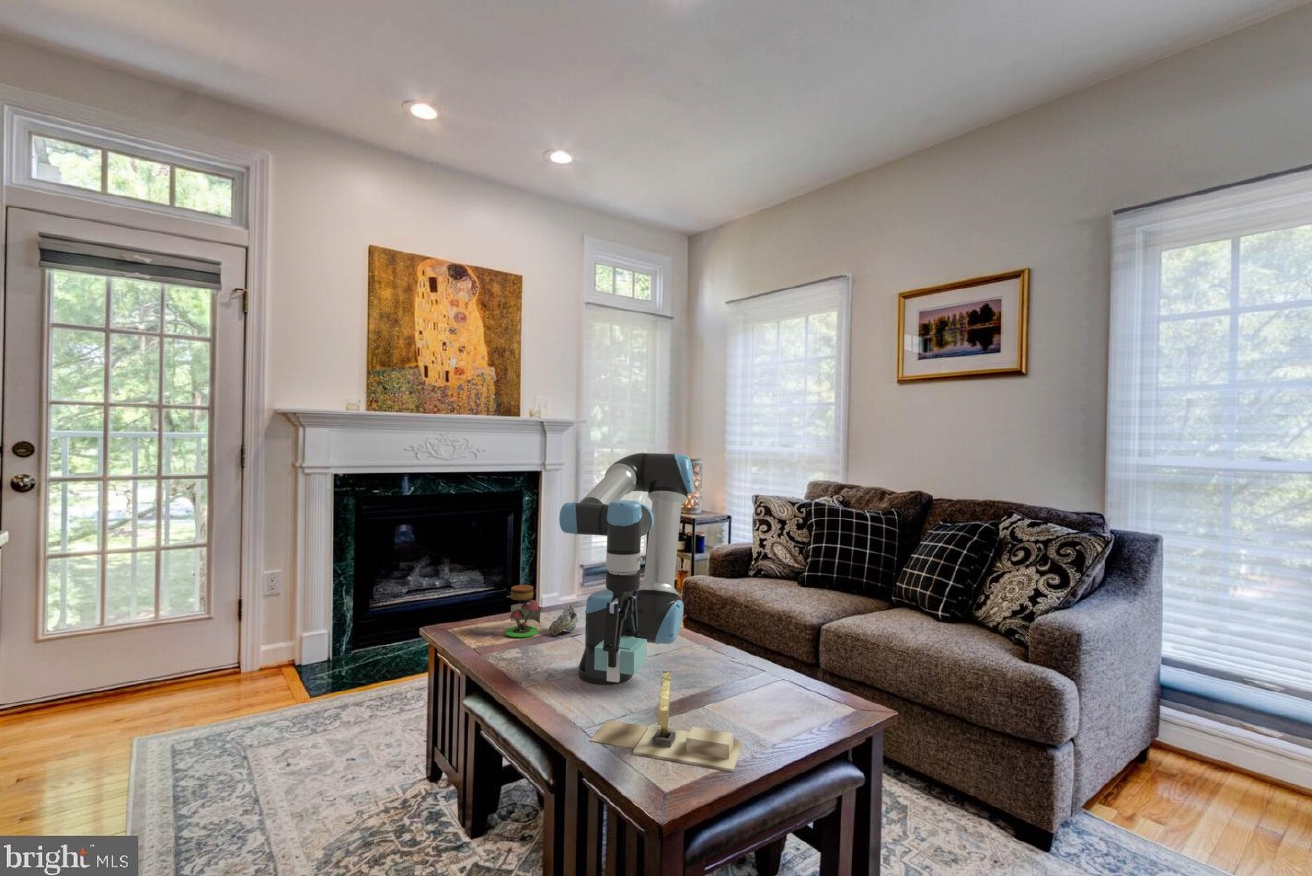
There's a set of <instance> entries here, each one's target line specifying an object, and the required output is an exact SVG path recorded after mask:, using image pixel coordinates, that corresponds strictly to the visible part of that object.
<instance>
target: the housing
mask: <svg viewBox="0 0 1312 876" xmlns="http://www.w3.org/2000/svg"><path fill="white" fill-rule="evenodd" d="M660 736H661V726H659V725H652V724H651V725H649V726H648V728H647V730H646V731H645V733H644V734H643V736H642V737H641V739H640V740H639V742H638V744H637V745H636V747H635V748H634V749H633V751H632V754H633V755H637V756H641V757H647V758H653V759H659V760H664V761H671V762H675V763H681V764H686V765H693V766H698V767H699V766H700V767H702V768H703V767H704V768H710V769H714V770H715V769H716V770H720V771H721V770H722V771H726V772H734V770H735V769H736V768H735V767H736V764H737V761H738V759H739V756H740V753H741V749H742V746H743V740H742V739H736V738H734V733H732V732H727V731H721V730H716V729H715V730H713V729H708V728H703V727H697V726H696V727H695V726H691V728H690V730H687V731H686V730H681V729H674V728H669V727H668V738H662V737H660Z"/></svg>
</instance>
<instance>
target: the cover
mask: <svg viewBox="0 0 1312 876" xmlns="http://www.w3.org/2000/svg"><path fill="white" fill-rule="evenodd" d="M603 645H604V640H603V641H602V642H601V643H599V644H598V645H597V646H596V647H595V663H594V670H601V671H607V651H603ZM647 648H648V642H647V639H641V638H633V637H625V636H621V638H620V644H619V651H620V673H623V674H630V675H633V676H634V675H635V674H636V673H637V672H638V671H639V670H640V668H641V667H642V666H643V665H644V664H645V663H646V662H647V656H648V655H647V653H648V649H647Z"/></svg>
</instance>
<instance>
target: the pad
mask: <svg viewBox="0 0 1312 876" xmlns="http://www.w3.org/2000/svg"><path fill="white" fill-rule="evenodd" d="M648 728H649V726H646V725H641V724H636V723H635V724H634V723H629V722H628V723H627V722H622V721H616V720H610V719H606V720H605V722H604V723H603V724H602V725H601V727H599V729H598V730H597V732H596V733H595V734H594V735H593V736H592V737H591V738H590V739H589V742H591V743H592V742H593V743H598V744H603V745H608V746H615V747H620V748H625V749H631V750H634V749H635V748H636V746H637V745H638V743H639V742H640V740H641V738H642V737H643V735H644V734H645V732H646V731H647V729H648Z"/></svg>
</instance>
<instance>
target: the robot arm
mask: <svg viewBox="0 0 1312 876" xmlns="http://www.w3.org/2000/svg"><path fill="white" fill-rule="evenodd" d="M694 488H695V482H694V471H693V465H692V460H691V458H690V457H689V456H688V455H686V454H681V453H674V452H673V453H656V452H654V453H653V452H651V453H650V452H637V453H633V454H629V455H627V456H625V457H622V458H621V459H618V460H617V461H615V462H614V463H612V464H610V466H609V467H608V468H607V469H606V471H605V472H604V477H603V478H601V480H600V481H599V482H597V484H596V485H595V486H594V487H593V488H592V489H591V490H590V491H589V492H588V493H587V494H586V495H585V497H583V498H582V499H581V500H580V501H579V502H575V501H573V502H566V503H563V505H562V506H561V508H560V512H559V516H558V517H559V519H558V520H559V521H558V522H559V528H560V530H561V531H562V532H563V533H565V534H571V535H572V534H573V535H576V536H577V535H581V536H582V535H586V536H605V537H606V553H605V554H606V557H605V560H606V561H605V569H606V570H607V572H606V574H605V588H606V589H603V590H599V591H595V592H592V593H591V594H590V595H589V596H588V597H587V598H586V603H585V604H586V605H585V606H586V607H585V611H584V613H585V631H584V632H585V633H584V634H585V636H584V638H585V641H584V642H585V643H584V650H583V652H582V656H581V659H580V662H579V664H578V671H577V675H578V678H579V680H580V681H583V682H584V683H586V684H587V683H588V684H590V685H595V686H612V685H613V686H615V685H619V684H623V683H626V682H628V681H630V679H632V677H633V676H634V675H630V674H623V673H620V651H619V644H620V638H621V636H625V637H633V638H641V639H647V644H648V643H649V644H656V645H662V644H663V645H671V644H673V643H675V642H676V640H677V638H678V636H679V633H680V630H681V627H682V622H683V618H684V617H683V616H684V607H685V606H684V602H683V601H682V600H681V599H679V592H677V589H675V580H676V579H675V578H676V570H677V569H676V567H677V557H678V556H677V555H678V546H679V533H680V523H681V512H682V511H681V510H682V505H683V504H684V503H686V502H687V501H688V495H691V494H693V493H694ZM632 492H644V493H645V492H646V493H647V497H648V498H649V500H650V501H651V503H652V504H651V508H650V507H648V506H647V505H645V504H641V503H640V502H638V501H636V500H627V499H626V500H623V499H622V498H623V497H624V496H626V495H628V494H630V493H632ZM647 534H648V536H647V537H648V538H647V550H646V558H645V567H644V574H643V575H644V576H643V584H642V585H641V573H640V572H639V571H640V569H641V563H642V562H643V557H641V541H642V537H643V536H646V535H647ZM603 640H604V645H603V651H607V671H601V670H594V663H595V647H596V646H597V645H598V644H599V643H601V642H602V641H603Z"/></svg>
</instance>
